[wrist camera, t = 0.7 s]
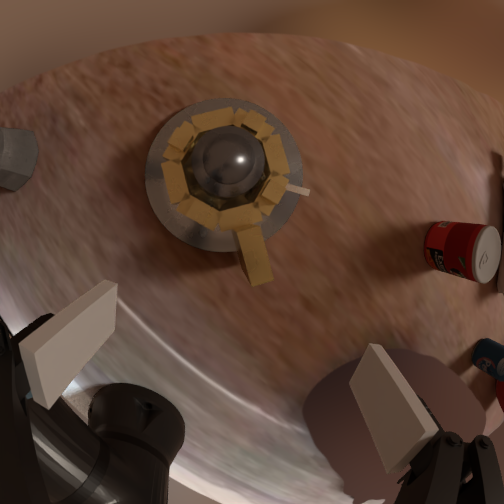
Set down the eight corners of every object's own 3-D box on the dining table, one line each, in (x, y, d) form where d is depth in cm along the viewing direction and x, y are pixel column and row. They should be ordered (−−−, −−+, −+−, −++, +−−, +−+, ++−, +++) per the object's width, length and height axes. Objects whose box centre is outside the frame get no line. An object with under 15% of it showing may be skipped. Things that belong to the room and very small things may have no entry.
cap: (170, 268, 32) (156, 289, 23) (134, 125, 29) (110, 98, 20) (315, 227, 34) (349, 233, 25) (277, 90, 30) (297, 56, 22)
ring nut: (197, 281, 31) (193, 303, 23) (158, 135, 28) (142, 112, 20) (301, 251, 32) (328, 263, 24) (263, 109, 29) (279, 81, 21)
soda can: (467, 356, 43) (503, 378, 31) (483, 331, 43) (520, 349, 31) (473, 368, 44) (506, 388, 33) (488, 344, 44) (522, 361, 32)
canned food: (415, 254, 36) (468, 268, 26) (435, 210, 36) (487, 213, 25) (439, 277, 38) (488, 293, 27) (457, 236, 38) (506, 244, 27)
